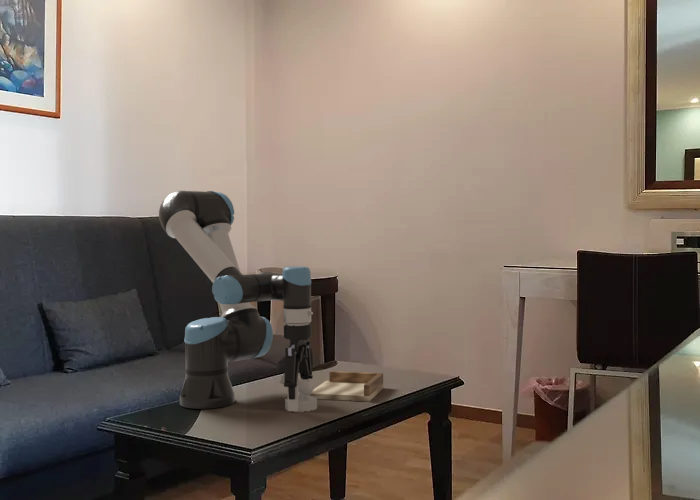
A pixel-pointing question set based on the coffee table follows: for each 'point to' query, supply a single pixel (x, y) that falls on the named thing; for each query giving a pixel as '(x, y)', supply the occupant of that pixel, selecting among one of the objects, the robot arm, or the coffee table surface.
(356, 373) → the wooden corner jig board
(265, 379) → the coffee table surface
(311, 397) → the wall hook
